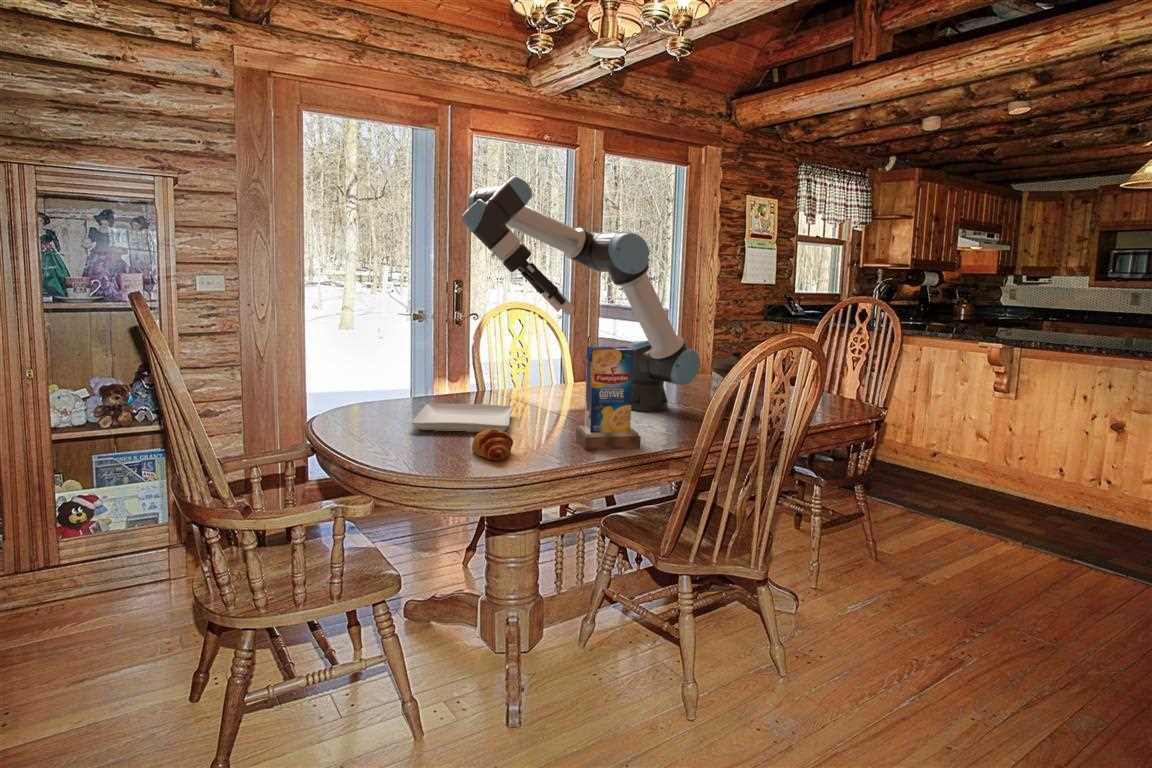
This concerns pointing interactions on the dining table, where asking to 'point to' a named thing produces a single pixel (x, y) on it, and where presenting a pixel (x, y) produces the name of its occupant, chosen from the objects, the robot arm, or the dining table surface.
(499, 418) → the square plate
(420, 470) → the dining table surface
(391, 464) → the dining table surface
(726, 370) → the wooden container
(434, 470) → the dining table surface
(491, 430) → the croissant
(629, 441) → the base block
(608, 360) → the beverage box
